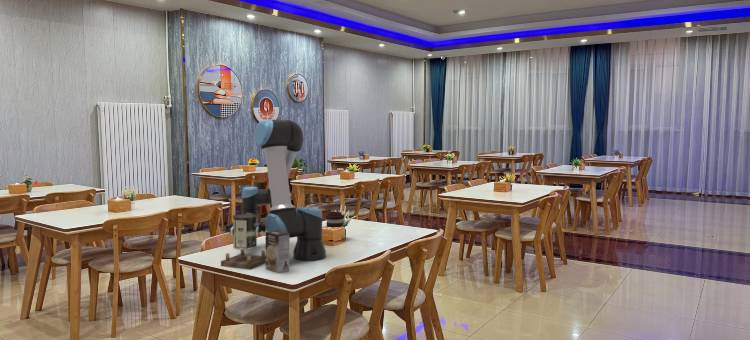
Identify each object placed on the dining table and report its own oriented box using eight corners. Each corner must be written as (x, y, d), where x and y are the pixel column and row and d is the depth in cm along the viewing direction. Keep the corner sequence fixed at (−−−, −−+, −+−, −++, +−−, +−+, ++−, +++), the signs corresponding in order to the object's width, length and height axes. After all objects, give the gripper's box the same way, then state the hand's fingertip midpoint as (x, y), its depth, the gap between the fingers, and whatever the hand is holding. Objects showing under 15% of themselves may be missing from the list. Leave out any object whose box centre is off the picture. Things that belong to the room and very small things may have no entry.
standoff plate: (269, 261, 238) (269, 250, 238) (250, 269, 224) (250, 257, 224) (241, 257, 243) (241, 247, 243) (220, 265, 229) (220, 254, 229)
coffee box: (264, 269, 225) (264, 231, 224) (276, 266, 230) (276, 229, 229) (278, 273, 219) (278, 235, 218) (290, 270, 224) (290, 232, 223)
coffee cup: (326, 242, 278) (326, 214, 277) (324, 238, 288) (324, 211, 287) (345, 241, 280) (345, 213, 279) (342, 237, 290) (342, 210, 289)
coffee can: (255, 243, 240) (255, 213, 239) (257, 249, 230) (257, 217, 229) (232, 245, 237) (232, 214, 236) (233, 250, 227) (233, 218, 226)
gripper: (272, 230, 253) (270, 240, 231) (223, 230, 249) (217, 241, 227) (272, 214, 252) (270, 223, 230) (223, 214, 248) (217, 224, 226)
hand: (244, 232), depth 229 cm, fingers closed on coffee can, 10 cm apart
